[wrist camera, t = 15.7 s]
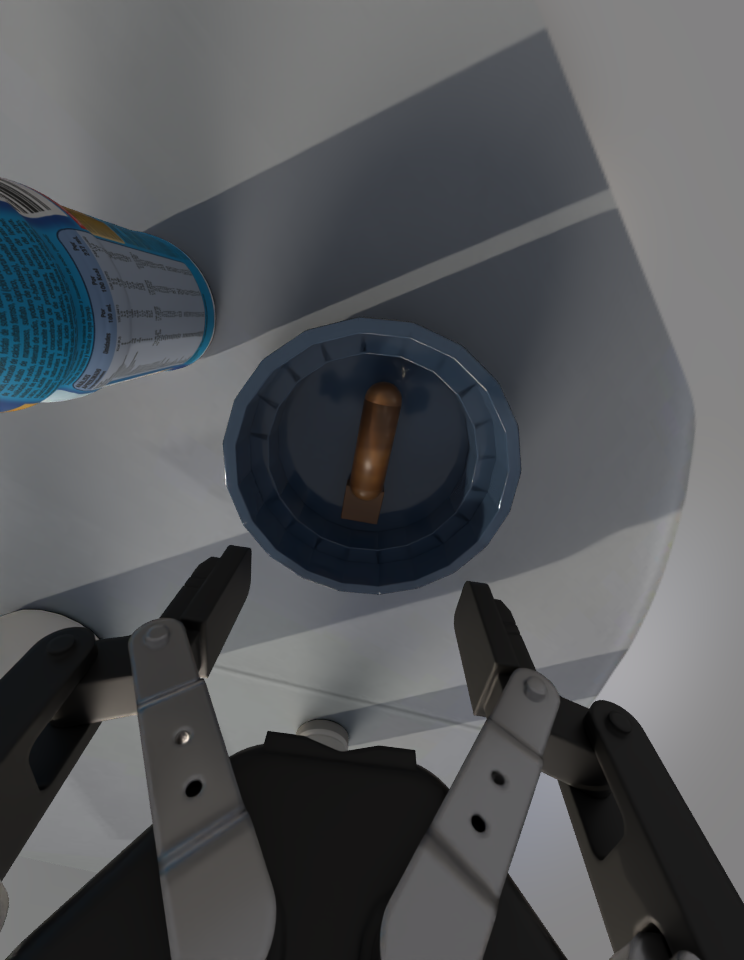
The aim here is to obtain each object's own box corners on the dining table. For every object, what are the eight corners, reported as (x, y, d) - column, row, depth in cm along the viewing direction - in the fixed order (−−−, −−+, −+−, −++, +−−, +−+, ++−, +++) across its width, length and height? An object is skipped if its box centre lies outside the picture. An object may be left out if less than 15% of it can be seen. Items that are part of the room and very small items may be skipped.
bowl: (480, 287, 24) (509, 279, 18) (502, 526, 31) (528, 571, 26) (217, 353, 26) (173, 363, 21) (296, 562, 33) (279, 611, 28)
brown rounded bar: (366, 375, 26) (364, 380, 23) (407, 383, 26) (409, 389, 24) (341, 511, 30) (338, 527, 28) (377, 517, 30) (376, 534, 28)
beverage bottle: (244, 339, 26) (-97, 396, 7) (149, 389, 27) (-328, 538, 9) (171, 206, 23) (-729, -265, 4) (68, 271, 24) (-907, 130, 6)
